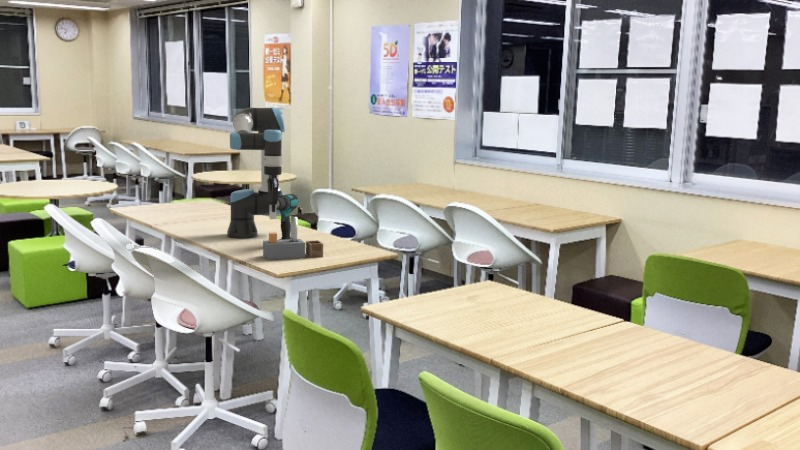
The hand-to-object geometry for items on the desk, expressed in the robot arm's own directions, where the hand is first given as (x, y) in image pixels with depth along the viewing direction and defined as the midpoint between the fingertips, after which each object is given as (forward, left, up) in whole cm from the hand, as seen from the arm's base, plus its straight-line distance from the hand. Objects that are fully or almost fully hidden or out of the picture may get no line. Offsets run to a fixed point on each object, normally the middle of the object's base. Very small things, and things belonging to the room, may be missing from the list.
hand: (272, 218), depth 317 cm
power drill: (-22, +10, -18) cm, 30 cm away
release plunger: (0, 0, -15) cm, 15 cm away
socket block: (0, +6, -18) cm, 18 cm away
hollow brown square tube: (0, +19, -18) cm, 26 cm away
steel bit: (0, +10, -18) cm, 20 cm away
